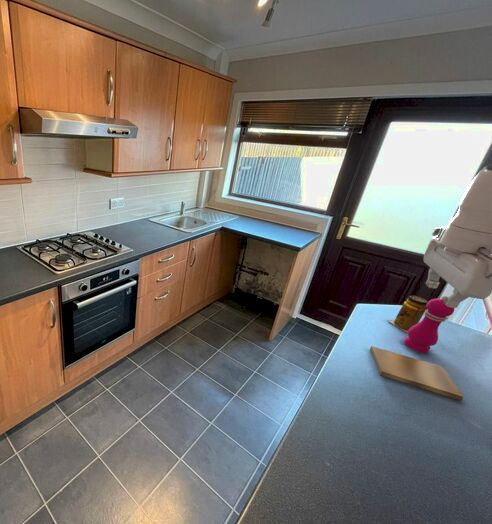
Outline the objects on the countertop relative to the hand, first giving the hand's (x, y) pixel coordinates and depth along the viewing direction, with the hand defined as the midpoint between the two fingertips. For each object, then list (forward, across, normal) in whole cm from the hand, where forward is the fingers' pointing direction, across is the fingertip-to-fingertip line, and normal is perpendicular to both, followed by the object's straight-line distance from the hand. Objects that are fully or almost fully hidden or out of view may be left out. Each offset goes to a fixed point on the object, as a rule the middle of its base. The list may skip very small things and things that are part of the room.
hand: (439, 295), depth 66 cm
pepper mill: (+30, +25, -14) cm, 42 cm away
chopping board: (+30, +9, -8) cm, 32 cm away
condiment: (+30, +38, -15) cm, 51 cm away
